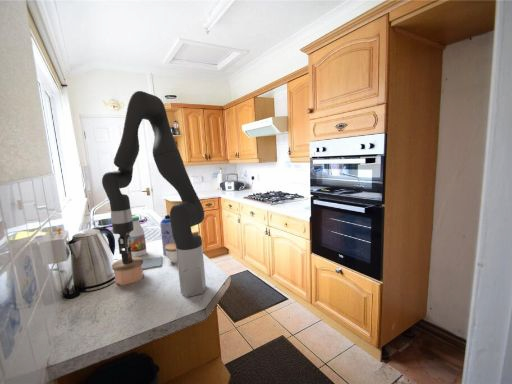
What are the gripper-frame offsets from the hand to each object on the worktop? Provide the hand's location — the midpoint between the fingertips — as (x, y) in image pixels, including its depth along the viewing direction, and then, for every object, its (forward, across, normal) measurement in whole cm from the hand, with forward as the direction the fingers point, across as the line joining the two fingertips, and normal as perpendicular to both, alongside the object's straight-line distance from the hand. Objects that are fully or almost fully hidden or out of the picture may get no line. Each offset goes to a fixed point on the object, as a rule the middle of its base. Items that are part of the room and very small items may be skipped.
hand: (127, 258), depth 106 cm
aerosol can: (+9, +22, -17) cm, 29 cm away
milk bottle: (+9, +28, -1) cm, 29 cm away
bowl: (+9, 0, 0) cm, 9 cm away
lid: (+3, 0, 0) cm, 3 cm away
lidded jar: (+9, +10, -20) cm, 24 cm away
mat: (+9, +12, -7) cm, 16 cm away
